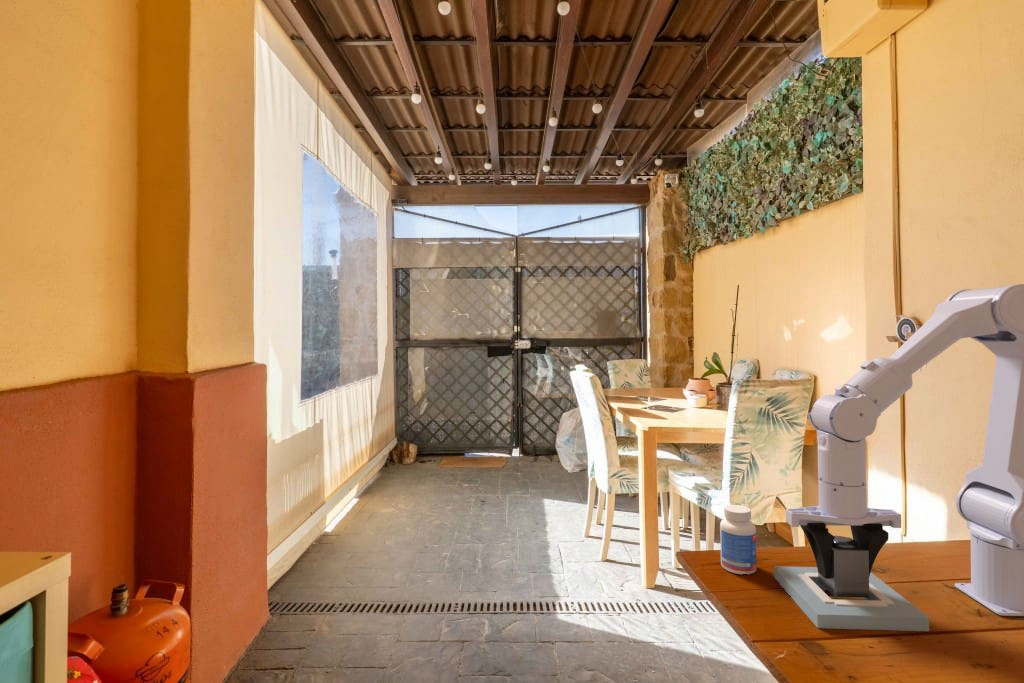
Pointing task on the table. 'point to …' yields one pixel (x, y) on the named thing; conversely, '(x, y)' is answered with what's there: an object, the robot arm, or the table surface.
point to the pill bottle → (738, 540)
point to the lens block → (848, 569)
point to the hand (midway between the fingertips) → (843, 575)
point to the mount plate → (850, 604)
